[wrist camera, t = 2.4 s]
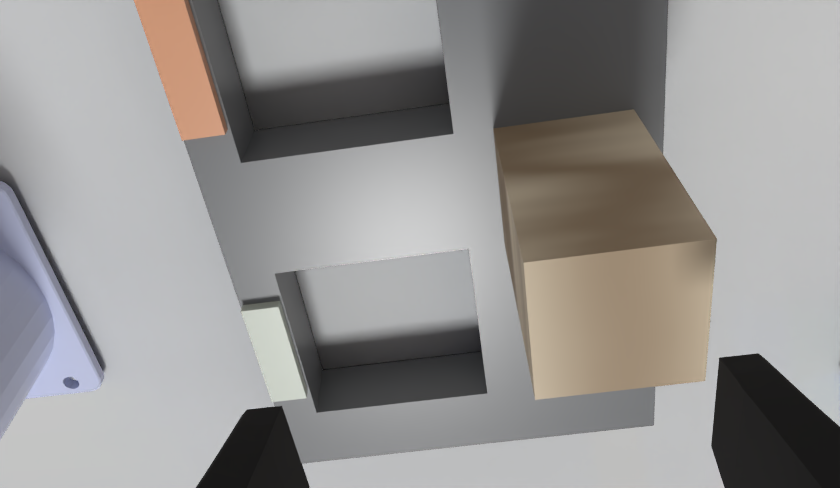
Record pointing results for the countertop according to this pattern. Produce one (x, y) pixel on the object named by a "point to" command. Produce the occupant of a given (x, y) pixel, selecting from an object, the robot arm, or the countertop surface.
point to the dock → (405, 210)
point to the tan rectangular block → (603, 256)
